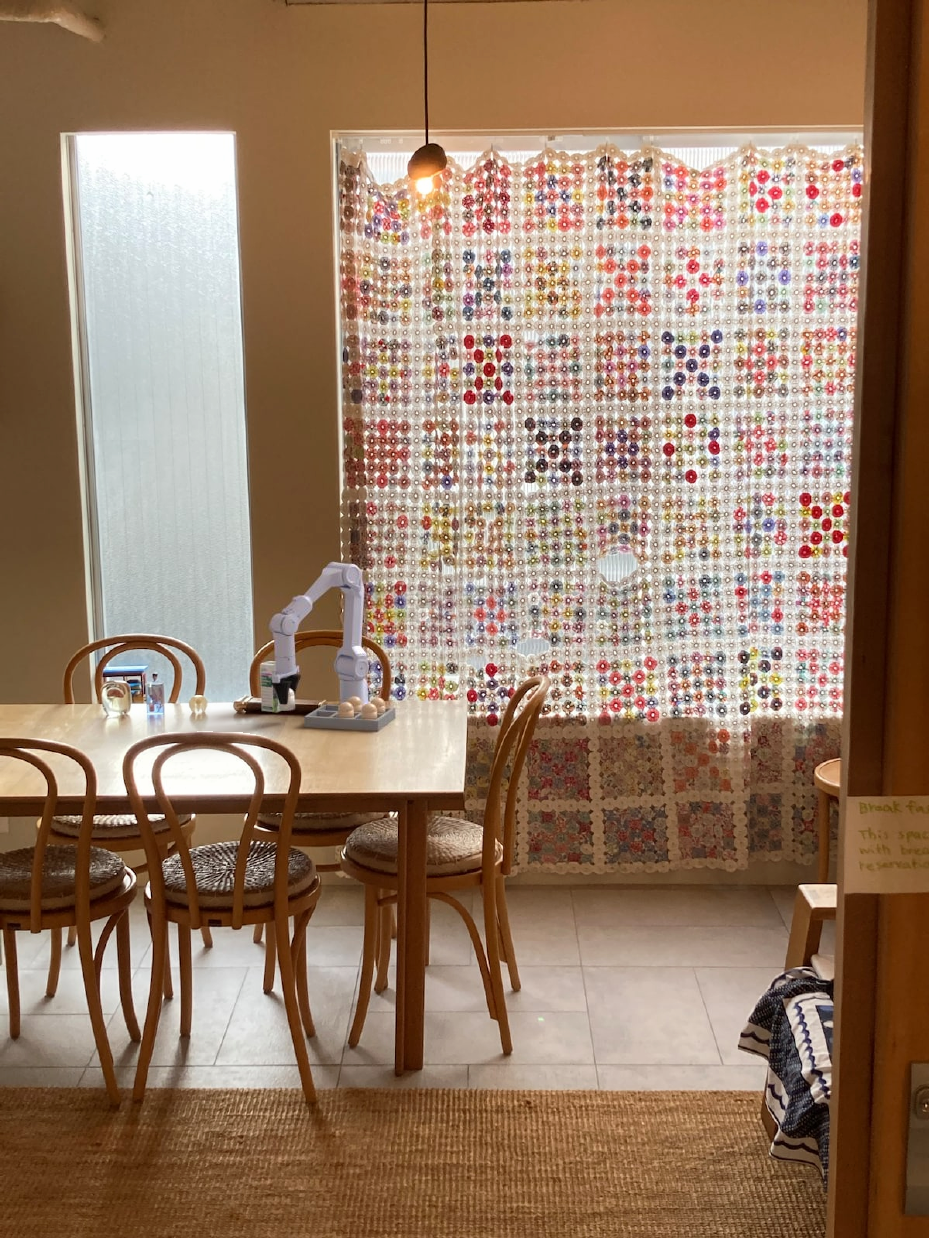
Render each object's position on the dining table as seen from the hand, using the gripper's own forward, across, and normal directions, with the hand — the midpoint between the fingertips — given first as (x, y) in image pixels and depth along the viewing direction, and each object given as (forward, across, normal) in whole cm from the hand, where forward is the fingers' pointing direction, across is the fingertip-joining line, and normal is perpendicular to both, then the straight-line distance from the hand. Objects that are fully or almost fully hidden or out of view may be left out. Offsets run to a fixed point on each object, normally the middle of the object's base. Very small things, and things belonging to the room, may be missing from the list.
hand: (287, 702), depth 332 cm
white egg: (+2, 0, 0) cm, 2 cm away
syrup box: (+6, -13, -10) cm, 17 cm away
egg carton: (+6, -3, +18) cm, 19 cm away
